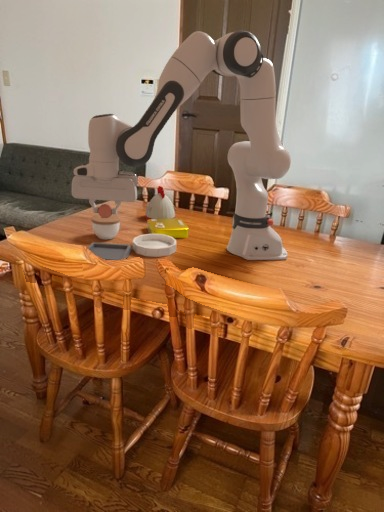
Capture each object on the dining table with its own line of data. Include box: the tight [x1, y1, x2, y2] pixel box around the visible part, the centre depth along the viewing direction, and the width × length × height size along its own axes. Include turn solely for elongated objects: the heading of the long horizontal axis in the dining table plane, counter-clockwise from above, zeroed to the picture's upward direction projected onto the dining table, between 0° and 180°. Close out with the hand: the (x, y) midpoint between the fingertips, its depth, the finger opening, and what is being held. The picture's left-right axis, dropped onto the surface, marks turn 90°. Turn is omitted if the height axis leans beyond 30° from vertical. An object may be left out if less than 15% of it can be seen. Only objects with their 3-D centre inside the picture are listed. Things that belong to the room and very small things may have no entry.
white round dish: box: [132, 233, 177, 258], centre depth 128 cm, size 16×16×3 cm
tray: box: [87, 241, 133, 260], centre depth 119 cm, size 14×14×2 cm
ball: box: [97, 203, 113, 218], centre depth 113 cm, size 5×5×5 cm
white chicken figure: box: [145, 185, 176, 221], centre depth 161 cm, size 14×14×15 cm
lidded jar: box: [90, 214, 121, 241], centre depth 135 cm, size 11×11×9 cm
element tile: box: [146, 217, 190, 240], centre depth 145 cm, size 15×15×5 cm
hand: (105, 213), depth 113 cm, fingers closed on ball, 5 cm apart
